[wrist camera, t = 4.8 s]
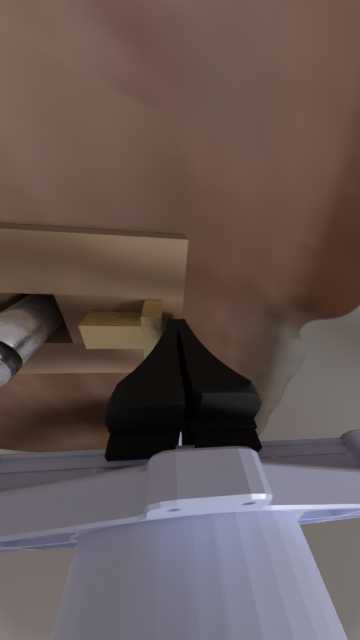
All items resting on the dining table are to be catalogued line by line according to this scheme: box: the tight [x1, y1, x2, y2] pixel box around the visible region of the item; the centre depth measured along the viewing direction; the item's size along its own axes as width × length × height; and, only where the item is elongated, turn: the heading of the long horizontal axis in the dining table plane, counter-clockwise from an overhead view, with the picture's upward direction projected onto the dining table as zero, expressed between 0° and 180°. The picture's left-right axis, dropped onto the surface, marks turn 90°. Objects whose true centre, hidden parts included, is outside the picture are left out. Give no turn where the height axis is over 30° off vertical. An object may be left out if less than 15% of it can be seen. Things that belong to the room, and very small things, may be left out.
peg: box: [0, 294, 64, 386], centre depth 11 cm, size 3×3×7 cm
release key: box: [78, 300, 162, 359], centre depth 12 cm, size 4×5×2 cm
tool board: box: [0, 223, 188, 374], centre depth 13 cm, size 12×24×2 cm, turn 86°
